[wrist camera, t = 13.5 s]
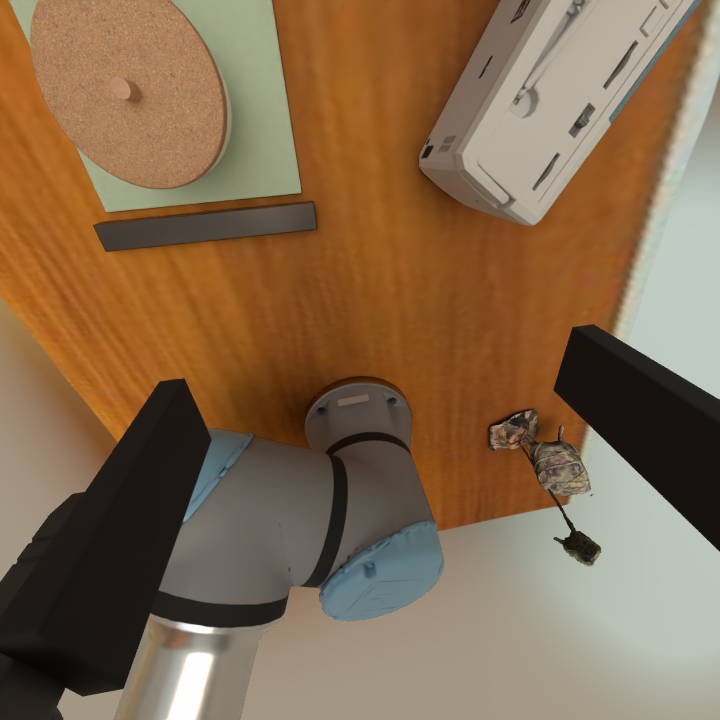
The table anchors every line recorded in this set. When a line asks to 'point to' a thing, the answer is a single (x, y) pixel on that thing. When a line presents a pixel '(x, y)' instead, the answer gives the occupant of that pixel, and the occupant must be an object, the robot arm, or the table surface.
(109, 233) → the divider
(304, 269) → the table surface
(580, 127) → the radio
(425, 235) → the table surface
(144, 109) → the trinket box
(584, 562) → the plant with pod
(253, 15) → the mat
